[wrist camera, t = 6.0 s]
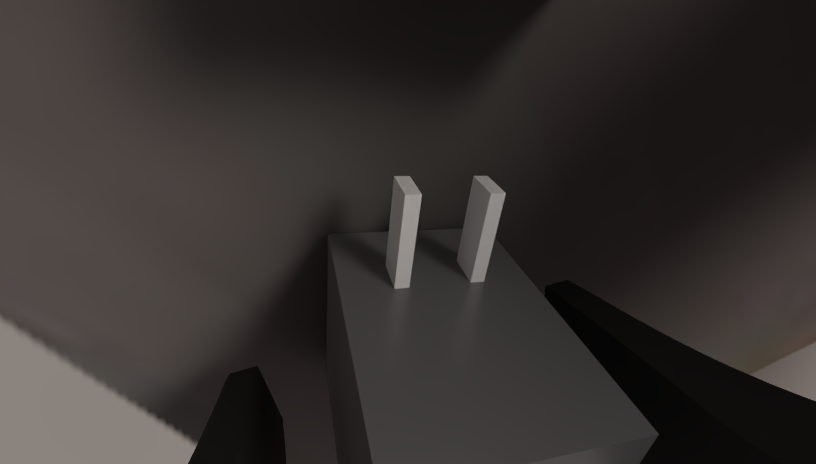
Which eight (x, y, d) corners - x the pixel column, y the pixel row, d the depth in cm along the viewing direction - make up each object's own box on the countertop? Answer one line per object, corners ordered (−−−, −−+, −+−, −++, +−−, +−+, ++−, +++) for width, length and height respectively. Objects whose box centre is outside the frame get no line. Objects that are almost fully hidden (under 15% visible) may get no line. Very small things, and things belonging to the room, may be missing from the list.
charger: (504, 152, 10) (729, 327, 5) (457, 353, 13) (564, 577, 8) (329, 149, 8) (395, 374, 4) (326, 370, 12) (359, 642, 7)
